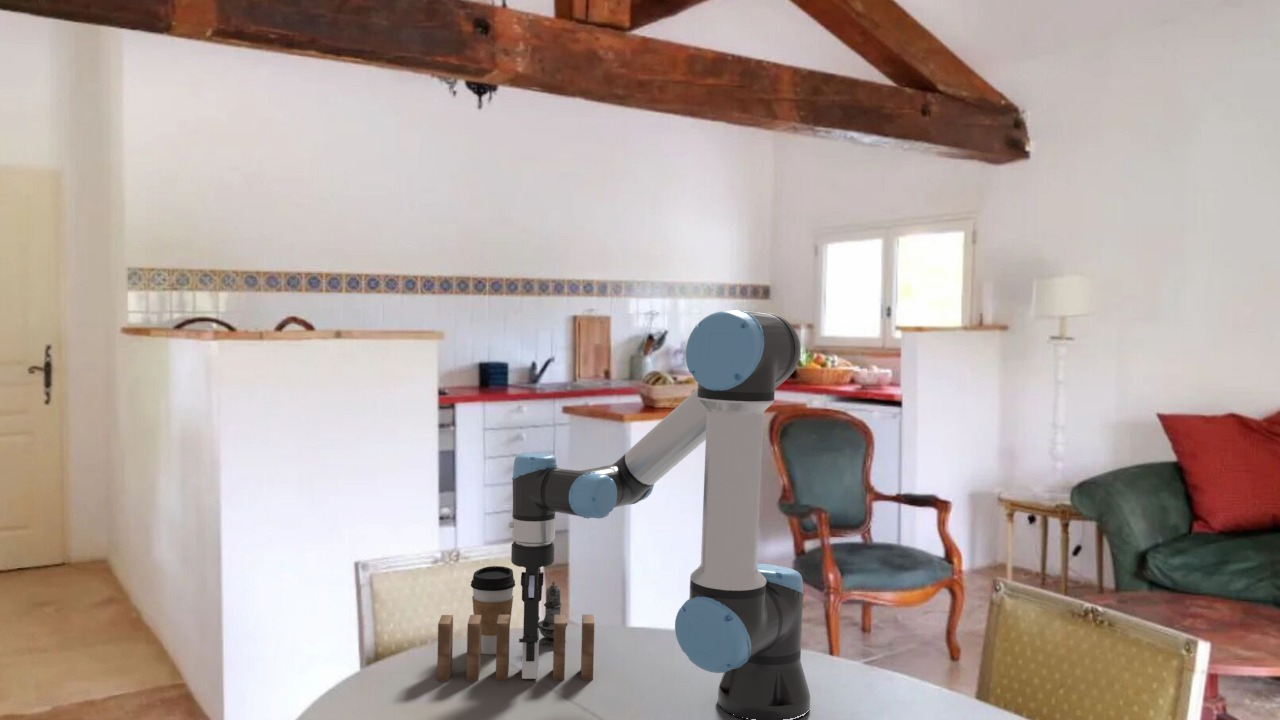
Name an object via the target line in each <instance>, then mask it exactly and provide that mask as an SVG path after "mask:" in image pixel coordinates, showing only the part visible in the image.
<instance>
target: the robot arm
mask: <svg viewBox="0 0 1280 720" xmlns="http://www.w3.org/2000/svg"><path fill="white" fill-rule="evenodd" d="M685 346H686V347H685V361H686V362H685V363H686V366H687V369H688V372H689V373H690V374H691V375H692V377H693V380H694V381H695V382H697V388H696V389H695V390H694V391H693V392H692V393H691V394H690V395H689V396H687V397H686V398H684V399H683V401H682V402H681V403H680V404H678V406H676V407H675V408H674V409H673V410H671V412H669V414H667V415H666V416H665V417H664V418H663V419H662V420H661V421H660V422H658V423H657V424H656V425H655V426H654V427H653V428H652V429H650V430H649V432H647V433H646V434H645V435H644V436H643V437H641V439H640V440H638V441H637V443H635V444H634V445H633V446H632V447H631V448H629V449H628V451H626V453H624V454H623V455H622V456H620V457H619V458H618V459H617V460H616V462H614V463H612V464H610V465H605V466H604V465H603V466H600V467H594V468H587V469H582V470H577V469H576V470H575V469H568V468H567V469H564V468H559V467H558V465H557V464H558V463H557V459H556V456H555V455H554V454H551V453H545V452H526V453H520V454H518V455H517V456H516V457H515V458H514V459H513V460H514V461H513V462H514V463H513V469H512V470H513V471H512V477H511V480H512V514H511V515H512V516H511V517H512V521H511V522H509V523H508V528H510V529H512V530H511V539H512V540H513V542H512V543H511V550H510V551H511V553H510V554H511V557H510V558H511V559H510V560H511V563H512V564H513V565H514V566H515V567H519V568H521V567H523V568H525V571H522V572H521V576H520V586H521V600H522V601H523V633H522V634H523V636H522V638H519V639H518V643H522V655H521V656H522V657H521V658H522V660H521V661H522V662H521V663H522V664H521V666H522V667H521V679H523V680H524V679H525V680H537V679H538V676H539V675H538V674H539V660H540V659H539V657H540V655H539V653H540V652H539V651H540V650H539V648H540V643H539V640H540V630H539V628H543V623H539V622H540V616H539V615H540V614H539V612H540V602H541V601H542V597H543V596H542V593H543V586H544V576H545V575H544V574H545V573H544V571H541V568H545V567H546V568H547V567H548V566H549V567H550V566H551V565H552V564H553V563H555V543H554V542H553V541H554V540H555V538H556V513H560V514H565V515H571V516H577V517H581V518H583V519H591V518H592V519H604V518H606V517H608V516H609V514H610V513H611V512H612V511H613V510H614V509H615V508H618V507H624V506H629V505H635V504H637V503H639V502H641V501H643V500H645V499H647V498H648V497H649V496H650V495H651V494H652V492H653V489H654V487H655V484H656V483H657V482H659V480H661V478H663V477H664V476H665V475H667V474H668V473H669V472H670V471H671V470H672V469H673V468H674V467H676V466H677V465H678V464H680V462H682V461H683V460H684V459H685V458H686V457H688V456H689V455H690V454H691V453H692V452H693V451H695V450H696V448H698V447H699V446H701V444H703V443H704V442H705V452H704V454H705V455H704V477H703V498H702V499H703V500H702V501H703V502H702V526H701V527H702V528H701V550H700V564H699V566H698V567H697V568H696V569H694V571H692V572H691V574H690V576H689V577H690V578H689V580H690V581H689V598H688V599H686V601H685V602H684V603H683V604H682V605H681V607H680V608H678V609H679V610H678V612H677V614H676V615H675V621H674V631H675V636H676V640H677V643H678V645H679V647H680V650H681V651H682V652H683V653H684V654H685V655H686V656H687V657H688V660H689V661H690V662H691V663H692V664H694V665H695V666H696V667H698V668H699V669H701V670H704V671H706V672H709V673H714V674H722V676H721V679H720V683H719V685H718V688H717V689H718V690H717V704H718V705H720V706H721V707H720V706H719V707H720V708H721V709H722V710H723V709H724V710H725V711H724V710H723V711H724V712H726V711H727V712H726V713H728V714H729V713H731V714H730V715H732V714H734V715H736V716H739V717H743V718H748V719H756V720H783V719H790V718H795V717H797V716H800V715H802V714H804V713H806V712H807V711H808V710H809V708H810V709H811V694H810V693H811V691H810V690H809V687H808V683H807V679H806V675H805V672H804V669H803V666H802V662H801V659H802V658H801V653H802V652H801V651H802V631H803V630H802V629H803V627H802V626H803V608H804V607H803V603H804V594H805V591H804V589H803V588H804V586H803V576H802V574H801V573H800V572H799V571H797V570H795V569H793V568H790V567H785V566H780V565H777V564H776V565H774V564H769V563H758V553H759V552H758V549H759V548H758V547H759V545H758V544H759V527H760V526H759V525H760V524H759V523H760V505H761V504H760V503H761V481H762V480H761V478H762V459H763V458H762V457H763V455H762V454H763V438H764V437H763V435H764V434H763V432H764V414H765V411H766V410H767V409H769V407H770V406H772V405H773V404H774V402H775V390H776V389H777V388H778V387H780V385H782V384H783V383H784V382H785V381H786V380H787V379H789V378H790V377H791V375H792V374H794V372H795V371H796V368H797V366H798V364H799V361H800V359H801V342H800V338H799V335H798V333H797V331H796V329H795V328H794V327H793V325H792V324H791V323H790V322H789V321H787V319H785V318H784V317H782V316H781V315H778V314H775V313H772V312H765V311H764V312H763V311H761V312H757V311H756V312H755V311H748V310H738V309H732V310H723V311H722V310H721V311H717V312H714V313H711V314H709V315H707V316H705V317H704V318H703V319H702V320H700V321H699V322H698V324H696V325H695V327H694V328H693V329H692V331H691V333H690V334H689V337H688V339H687V342H686V345H685ZM809 711H810V710H809ZM734 715H733V716H734ZM736 716H735V717H736ZM739 717H738V718H739ZM743 718H742V719H743Z"/></svg>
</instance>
